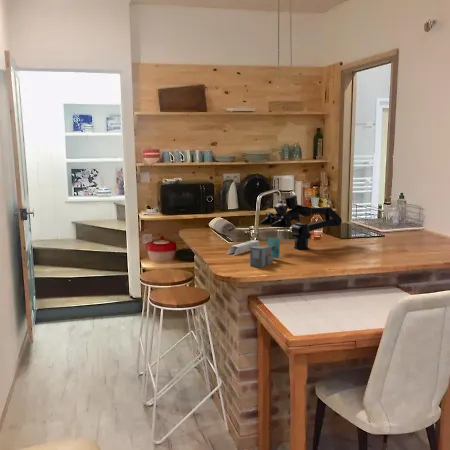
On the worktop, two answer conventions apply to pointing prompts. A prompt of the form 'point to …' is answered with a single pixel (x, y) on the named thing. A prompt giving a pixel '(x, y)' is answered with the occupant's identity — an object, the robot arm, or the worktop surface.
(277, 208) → the robot arm
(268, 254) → the sleeve
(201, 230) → the worktop surface
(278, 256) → the teal green slab
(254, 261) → the socket
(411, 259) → the worktop surface
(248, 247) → the box
